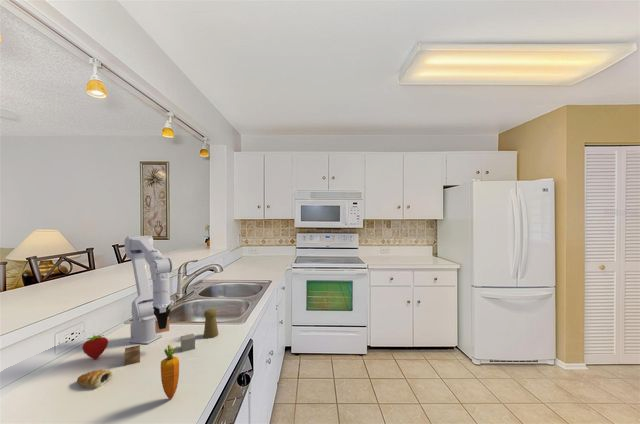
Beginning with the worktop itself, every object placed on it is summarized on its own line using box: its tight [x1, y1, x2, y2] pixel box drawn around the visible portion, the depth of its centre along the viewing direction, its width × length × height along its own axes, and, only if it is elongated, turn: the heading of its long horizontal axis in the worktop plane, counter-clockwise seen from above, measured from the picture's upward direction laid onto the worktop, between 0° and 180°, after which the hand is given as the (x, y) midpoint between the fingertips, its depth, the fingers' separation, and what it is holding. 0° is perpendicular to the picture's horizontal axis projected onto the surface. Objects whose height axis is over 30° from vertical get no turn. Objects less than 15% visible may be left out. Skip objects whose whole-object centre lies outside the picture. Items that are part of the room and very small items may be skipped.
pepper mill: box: [203, 308, 219, 339], centre depth 126 cm, size 6×6×11 cm
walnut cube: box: [124, 344, 141, 367], centre depth 105 cm, size 4×4×4 cm
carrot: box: [160, 344, 180, 400], centre depth 83 cm, size 5×5×15 cm
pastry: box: [76, 369, 113, 390], centre depth 92 cm, size 9×7×4 cm
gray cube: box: [180, 333, 196, 353], centre depth 114 cm, size 4×4×4 cm
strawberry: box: [81, 333, 109, 360], centre depth 107 cm, size 6×8×10 cm
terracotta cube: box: [155, 316, 170, 334], centre depth 113 cm, size 4×4×4 cm
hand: (162, 326), depth 113 cm, fingers closed on terracotta cube, 4 cm apart
